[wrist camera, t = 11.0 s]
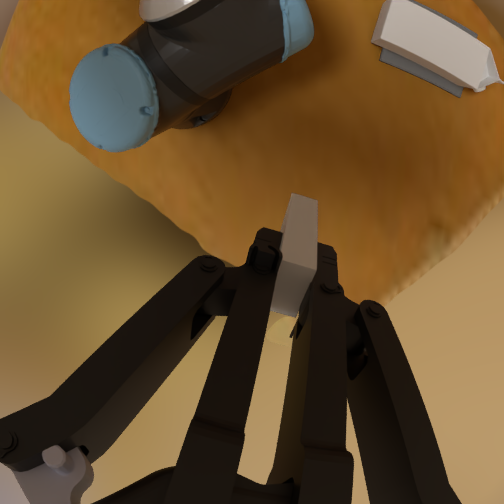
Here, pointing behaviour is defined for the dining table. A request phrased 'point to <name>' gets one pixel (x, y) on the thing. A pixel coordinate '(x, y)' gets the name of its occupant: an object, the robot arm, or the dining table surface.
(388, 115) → the dining table surface
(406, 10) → the milk carton
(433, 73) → the mat
